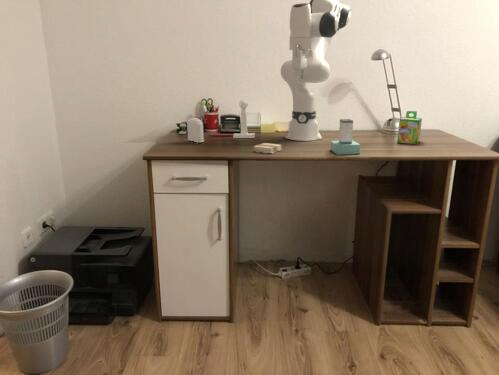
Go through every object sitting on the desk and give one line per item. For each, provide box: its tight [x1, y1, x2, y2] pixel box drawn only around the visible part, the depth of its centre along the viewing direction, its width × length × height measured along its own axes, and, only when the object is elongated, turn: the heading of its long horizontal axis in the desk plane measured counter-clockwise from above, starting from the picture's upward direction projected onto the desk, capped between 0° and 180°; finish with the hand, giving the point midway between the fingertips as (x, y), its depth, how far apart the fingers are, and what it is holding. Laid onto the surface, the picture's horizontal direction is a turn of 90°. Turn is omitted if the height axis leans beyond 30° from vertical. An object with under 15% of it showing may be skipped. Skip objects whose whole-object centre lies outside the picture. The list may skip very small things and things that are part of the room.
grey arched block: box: [186, 117, 205, 142], centre depth 214 cm, size 10×4×12 cm, turn 39°
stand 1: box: [253, 142, 282, 154], centre depth 193 cm, size 9×9×2 cm
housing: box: [338, 118, 354, 144], centre depth 186 cm, size 4×4×10 cm
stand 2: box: [330, 139, 361, 155], centre depth 188 cm, size 10×10×4 cm
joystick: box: [233, 99, 256, 139], centre depth 222 cm, size 11×8×20 cm
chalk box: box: [396, 110, 423, 145], centre depth 204 cm, size 9×9×15 cm
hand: (299, 79), depth 180 cm, fingers open, 8 cm apart
